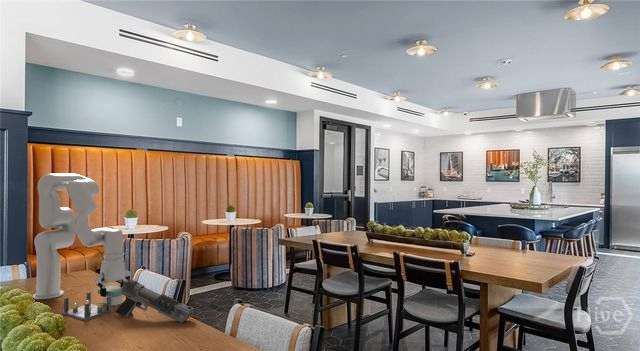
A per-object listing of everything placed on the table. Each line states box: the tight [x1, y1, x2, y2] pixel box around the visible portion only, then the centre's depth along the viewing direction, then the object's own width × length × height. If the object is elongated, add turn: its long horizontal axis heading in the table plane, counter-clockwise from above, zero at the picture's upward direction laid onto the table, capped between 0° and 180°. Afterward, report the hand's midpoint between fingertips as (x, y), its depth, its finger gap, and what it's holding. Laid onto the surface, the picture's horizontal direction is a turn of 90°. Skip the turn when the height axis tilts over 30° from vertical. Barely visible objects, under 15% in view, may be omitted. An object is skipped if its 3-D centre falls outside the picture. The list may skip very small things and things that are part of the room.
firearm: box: [114, 279, 195, 323], centre depth 163 cm, size 4×33×15 cm, turn 78°
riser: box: [102, 295, 123, 307], centre depth 182 cm, size 8×4×4 cm, turn 61°
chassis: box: [61, 291, 114, 321], centre depth 169 cm, size 16×12×6 cm
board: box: [97, 285, 124, 297], centre depth 183 cm, size 12×7×2 cm, turn 61°
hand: (113, 293), depth 182 cm, fingers open, 9 cm apart
